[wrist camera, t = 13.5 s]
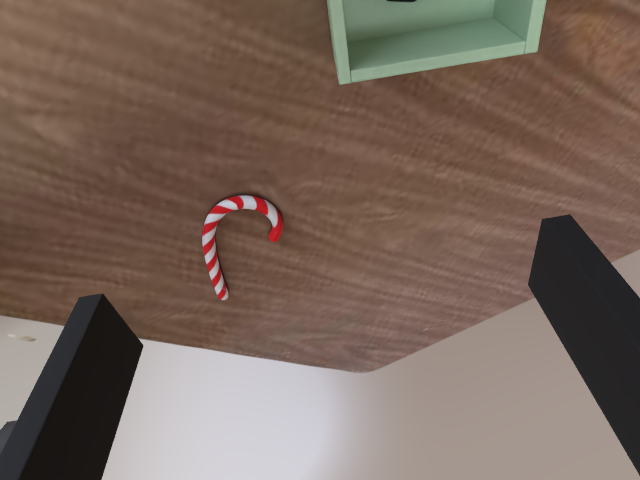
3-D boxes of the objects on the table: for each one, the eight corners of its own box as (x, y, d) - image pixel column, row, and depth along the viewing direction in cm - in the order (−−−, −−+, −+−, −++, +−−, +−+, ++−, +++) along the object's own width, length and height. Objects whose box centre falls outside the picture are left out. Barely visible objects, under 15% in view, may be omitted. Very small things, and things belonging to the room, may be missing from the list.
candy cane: (193, 297, 48) (207, 192, 39) (195, 289, 49) (209, 184, 40) (260, 308, 50) (289, 209, 40) (261, 299, 51) (290, 201, 41)
